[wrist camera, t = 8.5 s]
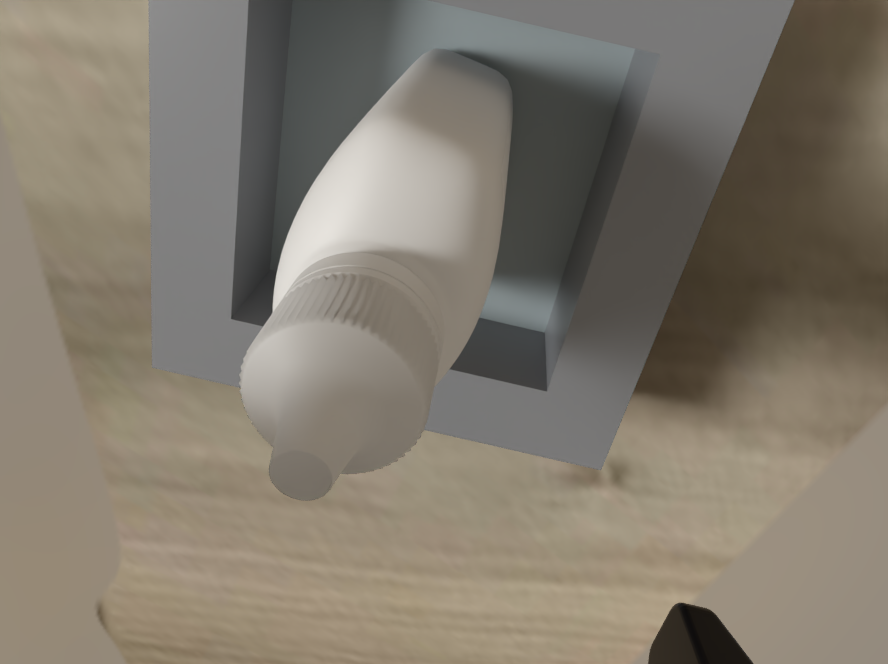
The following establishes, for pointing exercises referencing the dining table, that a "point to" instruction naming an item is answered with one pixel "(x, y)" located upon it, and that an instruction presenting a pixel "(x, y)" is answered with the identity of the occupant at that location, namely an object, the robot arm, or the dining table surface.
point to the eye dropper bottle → (382, 276)
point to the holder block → (527, 190)
